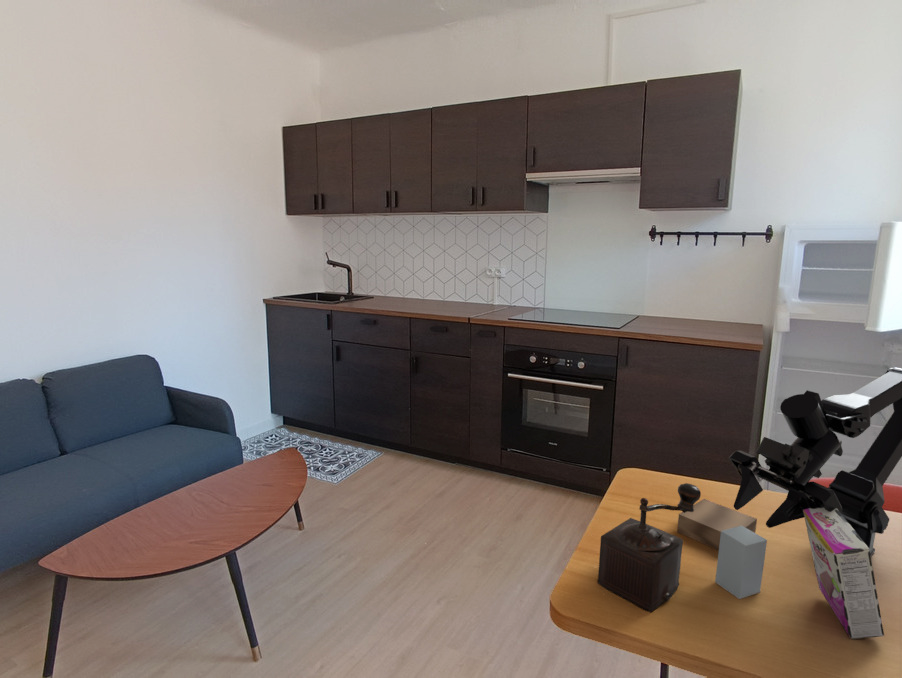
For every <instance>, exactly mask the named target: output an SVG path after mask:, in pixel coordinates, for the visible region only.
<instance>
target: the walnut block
mask: <svg viewBox="0 0 902 678" xmlns="http://www.w3.org/2000/svg"><path fill="white" fill-rule="evenodd" d="M693 508H694V512H689V511H687V512H685V513H683V511H681V512H680V513H678V520H677V528H676V529H677V530H676V532H677V533H678V534H681V535H683V536H686V537H687V538H690V539H693V540H694V541H697V542H700V543H701V544H704V545H706V546H708V547H710V548H713V549H714V550H717V551H719V545H720V536H721V531H723V530H727V529H730V528H734V527H738V526H743V527H745V528H747V529H749V530H750V531H752V532H754V533H756V531H757V522H758V518H756V517H754V516H751V515H748V514H745V513H743V512H740V511H738V510H736V509H732V508H730V507H727V506H724V505H722V504H719V503H716V502H714V501H711V500H708V499H707V498H703V499H701V500H699V501H698V502H697V503H696V502H695V504H694V505H693Z"/></svg>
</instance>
